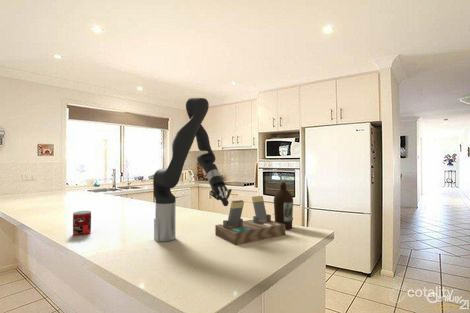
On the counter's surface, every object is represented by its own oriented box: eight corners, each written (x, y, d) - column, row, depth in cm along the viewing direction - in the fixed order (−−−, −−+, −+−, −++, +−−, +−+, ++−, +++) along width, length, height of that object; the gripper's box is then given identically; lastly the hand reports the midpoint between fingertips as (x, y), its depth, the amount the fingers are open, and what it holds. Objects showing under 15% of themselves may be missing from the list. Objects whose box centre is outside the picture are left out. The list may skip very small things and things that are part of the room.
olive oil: (269, 226, 147) (269, 182, 147) (283, 224, 153) (283, 181, 153) (283, 231, 138) (283, 183, 139) (297, 228, 144) (297, 182, 144)
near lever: (228, 227, 126) (233, 202, 122) (226, 225, 127) (231, 201, 123) (238, 225, 129) (244, 201, 125) (237, 224, 130) (242, 200, 127)
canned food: (69, 234, 132) (69, 212, 132) (84, 231, 139) (85, 210, 139) (78, 236, 128) (79, 214, 128) (94, 232, 135) (94, 211, 135)
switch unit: (234, 244, 115) (234, 226, 115) (215, 235, 130) (215, 218, 131) (285, 234, 131) (285, 218, 131) (262, 227, 146) (262, 212, 147)
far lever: (258, 221, 135) (253, 196, 139) (256, 222, 136) (251, 197, 140) (267, 220, 138) (262, 195, 142) (266, 221, 140) (260, 196, 144)
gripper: (206, 175, 138) (217, 201, 128) (228, 174, 145) (240, 199, 134) (202, 184, 143) (212, 211, 132) (223, 183, 150) (234, 208, 139)
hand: (226, 205), depth 133 cm, fingers closed
